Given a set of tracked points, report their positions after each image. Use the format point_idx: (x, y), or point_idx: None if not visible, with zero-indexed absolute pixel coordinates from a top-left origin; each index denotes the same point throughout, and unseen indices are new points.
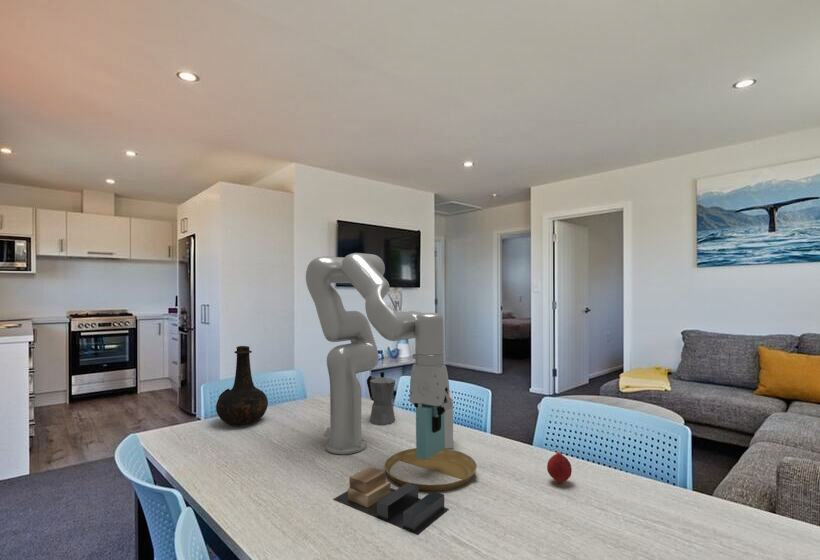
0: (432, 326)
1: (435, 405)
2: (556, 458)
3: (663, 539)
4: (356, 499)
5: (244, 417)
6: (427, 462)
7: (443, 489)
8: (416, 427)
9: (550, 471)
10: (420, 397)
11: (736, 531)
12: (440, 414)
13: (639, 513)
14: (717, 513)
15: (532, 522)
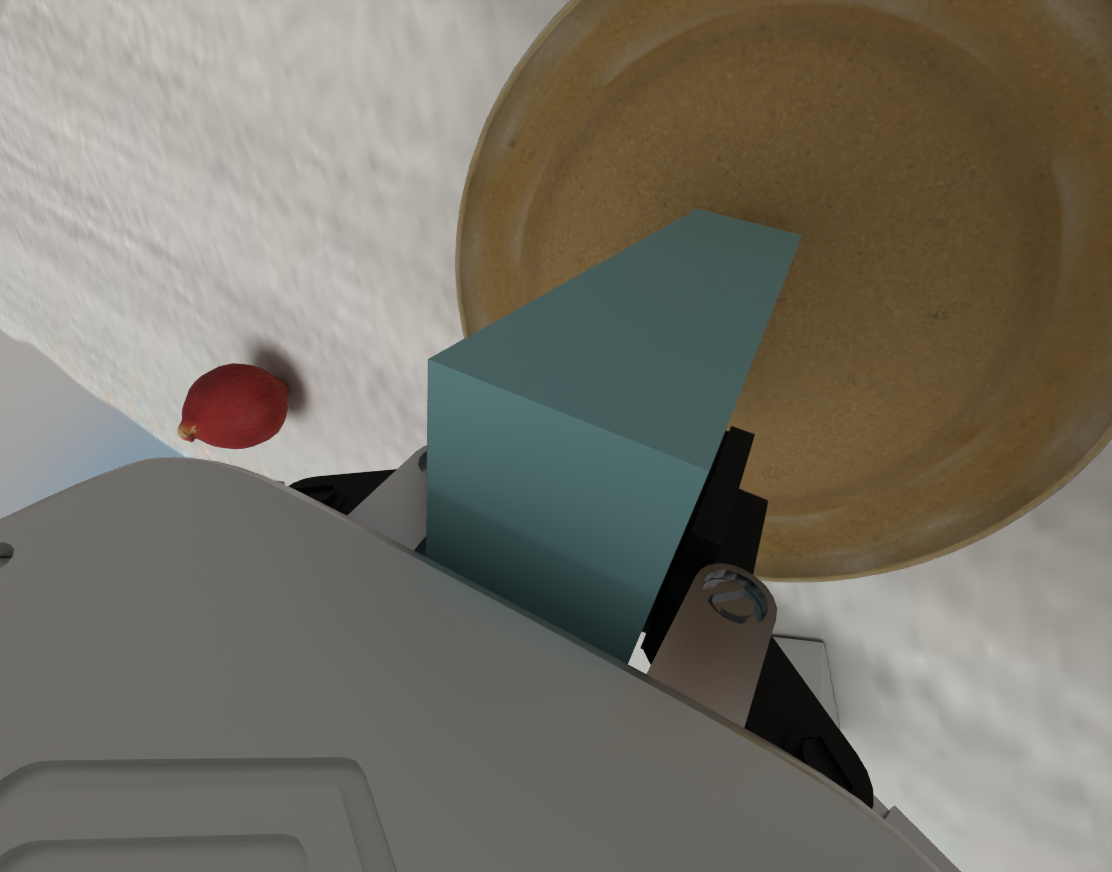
0: None
1: (233, 468)
2: (195, 407)
3: (25, 135)
4: None
5: None
6: (790, 456)
7: (569, 69)
8: (762, 311)
9: (250, 380)
10: (513, 813)
11: (8, 252)
12: (389, 472)
13: (108, 261)
14: (55, 322)
15: (208, 24)
